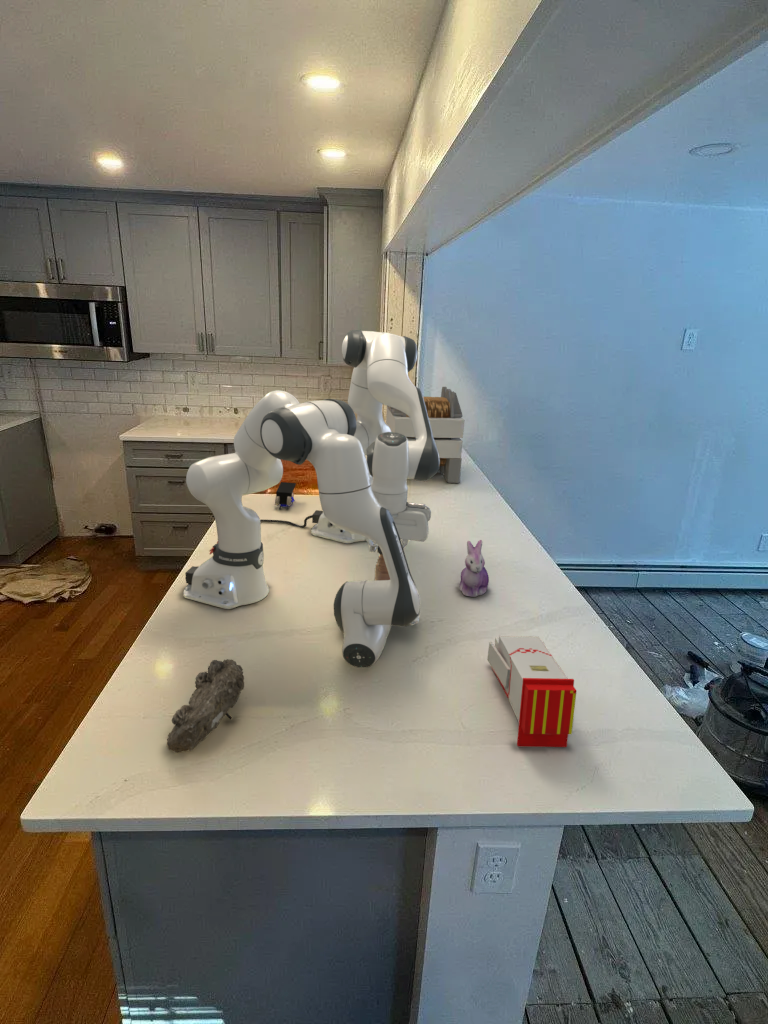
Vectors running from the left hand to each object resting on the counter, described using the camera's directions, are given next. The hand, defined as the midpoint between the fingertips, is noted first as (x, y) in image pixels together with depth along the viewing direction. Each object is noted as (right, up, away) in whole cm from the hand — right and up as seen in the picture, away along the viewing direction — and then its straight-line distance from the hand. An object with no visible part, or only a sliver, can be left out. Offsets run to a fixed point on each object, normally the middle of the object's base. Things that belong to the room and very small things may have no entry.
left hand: (384, 592), depth 147 cm
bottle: (0, -5, +1) cm, 5 cm away
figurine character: (-39, +24, +76) cm, 88 cm away
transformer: (+17, +40, +128) cm, 135 cm away
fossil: (-33, -18, -39) cm, 54 cm away
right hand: (0, +11, -5) cm, 12 cm away
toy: (+28, -18, -30) cm, 45 cm away
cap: (0, +13, -6) cm, 14 cm away
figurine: (+25, -1, +14) cm, 29 cm away
